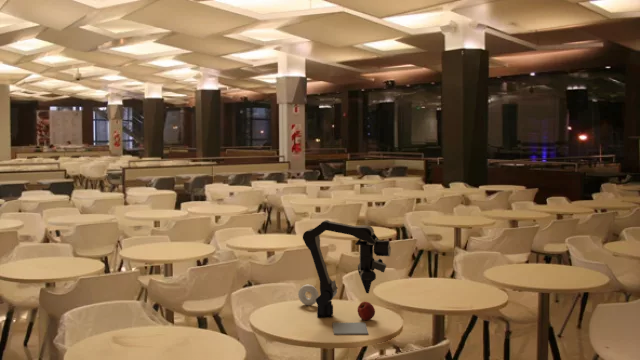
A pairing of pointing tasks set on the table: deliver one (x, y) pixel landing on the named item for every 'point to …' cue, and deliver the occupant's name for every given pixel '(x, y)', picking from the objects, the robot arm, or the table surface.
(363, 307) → the apple
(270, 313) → the table surface
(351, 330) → the mat
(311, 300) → the donut
